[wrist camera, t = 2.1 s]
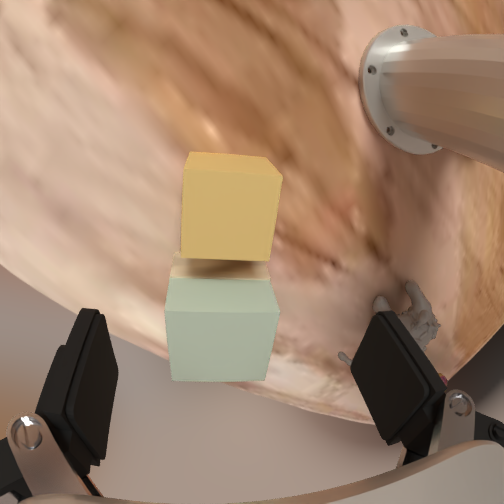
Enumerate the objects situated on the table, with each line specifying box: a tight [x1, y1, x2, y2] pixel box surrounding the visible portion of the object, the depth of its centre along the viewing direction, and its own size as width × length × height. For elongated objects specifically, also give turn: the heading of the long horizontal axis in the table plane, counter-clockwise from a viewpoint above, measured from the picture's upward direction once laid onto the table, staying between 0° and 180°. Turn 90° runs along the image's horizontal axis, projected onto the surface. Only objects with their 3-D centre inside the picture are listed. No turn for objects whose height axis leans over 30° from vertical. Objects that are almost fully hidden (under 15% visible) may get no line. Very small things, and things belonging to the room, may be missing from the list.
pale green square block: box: [164, 278, 280, 382], centre depth 24 cm, size 8×8×4 cm
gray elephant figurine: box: [338, 280, 441, 366], centre depth 31 cm, size 9×12×8 cm
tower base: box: [170, 253, 271, 280], centre depth 27 cm, size 8×8×4 cm
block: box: [181, 152, 283, 261], centre depth 22 cm, size 6×6×6 cm
